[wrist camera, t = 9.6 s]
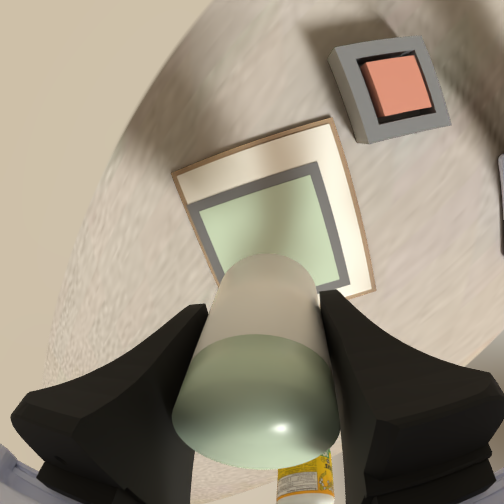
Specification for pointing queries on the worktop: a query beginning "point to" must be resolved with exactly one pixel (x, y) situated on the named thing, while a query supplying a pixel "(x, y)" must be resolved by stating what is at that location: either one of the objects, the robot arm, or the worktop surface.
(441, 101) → the button housing
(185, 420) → the green and cream cylinder
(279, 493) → the supplement bottle
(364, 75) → the button
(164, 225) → the worktop surface
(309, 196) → the picture board
